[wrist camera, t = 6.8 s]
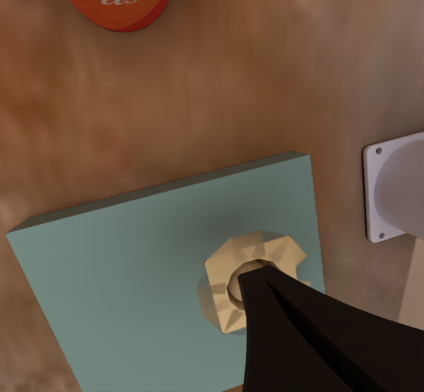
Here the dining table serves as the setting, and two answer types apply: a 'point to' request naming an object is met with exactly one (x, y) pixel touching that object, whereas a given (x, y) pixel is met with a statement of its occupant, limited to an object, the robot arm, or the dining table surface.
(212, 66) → the dining table surface
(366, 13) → the dining table surface
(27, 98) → the dining table surface
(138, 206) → the hole board
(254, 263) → the maple ball
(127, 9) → the coffee cup
